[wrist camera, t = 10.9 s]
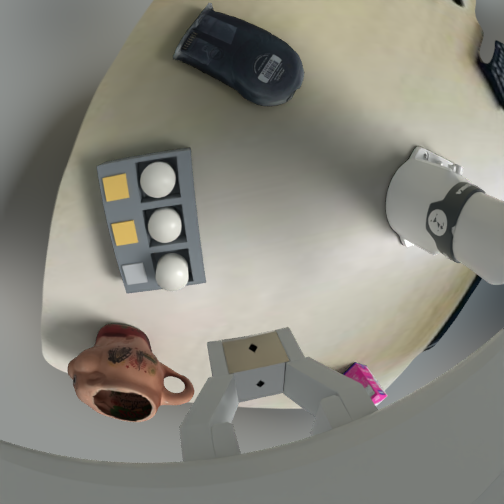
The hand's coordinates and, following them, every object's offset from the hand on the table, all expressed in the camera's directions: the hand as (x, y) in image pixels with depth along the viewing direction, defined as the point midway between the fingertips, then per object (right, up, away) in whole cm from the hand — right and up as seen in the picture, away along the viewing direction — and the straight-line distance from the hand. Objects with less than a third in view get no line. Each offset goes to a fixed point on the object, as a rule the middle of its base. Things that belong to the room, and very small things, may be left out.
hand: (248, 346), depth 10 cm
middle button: (-11, +7, +23) cm, 27 cm away
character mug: (-20, -12, +32) cm, 40 cm away
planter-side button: (-10, +2, +24) cm, 26 cm away
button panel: (-13, +8, +24) cm, 28 cm away
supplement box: (+26, -27, +51) cm, 63 cm away
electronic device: (-1, +27, +18) cm, 33 cm away
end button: (-11, +12, +21) cm, 26 cm away
